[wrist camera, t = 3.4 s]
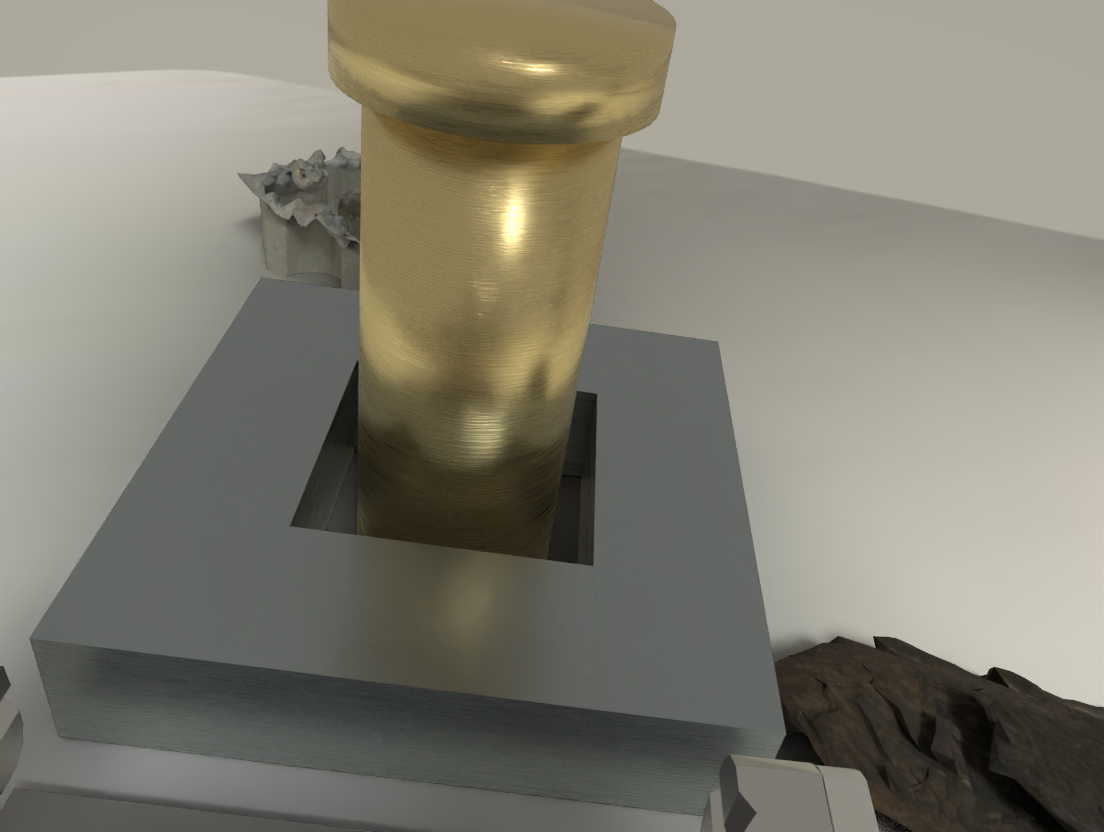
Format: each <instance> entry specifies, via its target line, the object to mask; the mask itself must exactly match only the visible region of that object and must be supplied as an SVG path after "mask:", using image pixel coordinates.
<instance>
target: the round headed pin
mask: <svg viewBox="0 0 1104 832" xmlns="http://www.w3.org/2000/svg"><path fill="white" fill-rule="evenodd" d="M675 32H676V21H675V19H674V17H673V16H672V15H671V14H670V13H669V12H668V11H667V10H666V9H664V8H663V7H662V6H660V5H658V4H657V3H655V2H653V1H652V0H328V71H329V74H330V78H331V79H332V81H333V82H334V84H335V85H336V86H337V87H338V88H339V89H340V90H341V91H342V92H343V93H344V94H346V95H347V96H349V97H350V98H352V99H353V100H355V101H356V102H358V103H360V104H362V129H361V216H360V302H359V389H358V476H357V535H360V536H368V537H376V538H383V539H391V540H398V541H406V542H414V543H421V544H429V545H436V546H444V547H452V548H459V549H467V550H474V551H482V552H490V553H497V554H505V555H513V556H520V557H528V558H535V559H543V560H547V555H548V549H549V543H550V538H551V532H552V527H553V521H554V516H555V510H556V504H557V499H558V493H559V488H560V482H561V476H562V471H563V465H564V460H565V454H566V448H567V443H568V437H569V432H570V426H571V421H572V415H573V409H574V404H575V398H576V393H577V387H578V381H579V376H580V370H581V365H582V359H583V354H584V348H585V342H586V337H587V331H588V326H589V320H590V314H591V309H592V303H593V298H594V292H595V287H596V281H597V275H598V270H599V264H600V259H601V253H602V247H603V242H604V236H605V231H606V225H607V219H608V214H609V208H610V203H611V197H612V192H613V186H614V180H615V175H616V169H617V164H618V158H619V152H620V147H621V141H622V137H623V136H627V135H630V134H633V133H635V132H638V131H640V130H642V129H644V128H645V127H647V126H649V125H650V124H651V123H652V122H653V121H654V120H655V119H656V118H657V116H658V114H659V112H660V107H661V101H662V97H663V92H664V87H665V82H666V77H667V72H668V67H669V62H670V57H671V52H672V47H673V42H674V37H675Z"/></svg>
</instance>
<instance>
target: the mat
mask: <svg viewBox="0 0 1104 832" xmlns="http://www.w3.org/2000/svg"><path fill="white" fill-rule="evenodd" d="M0 832H376V831H368V830H359V829H351V828H343V827H334V826H326V825H318V824H309V823H301V822H293V821H285V820H276V819H268V818H260V817H251V816H243V815H235V814H226V813H218V812H210V811H201V810H193V809H185V808H176V807H168V806H160V805H151V804H143V803H135V802H127V801H118V800H110V799H102V798H93V797H85V796H77V795H68V794H60V793H52V792H43V791H35V790H27V789H18V788H14V789H13V791H12V793H11V795H10V796H9V798H8V800H7V802H6V804H5V805H4V807H3V809H2V811H1V812H0Z"/></svg>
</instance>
